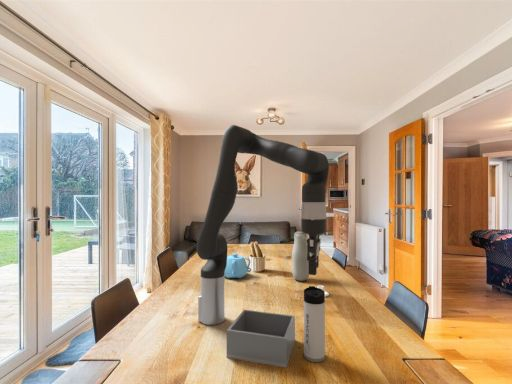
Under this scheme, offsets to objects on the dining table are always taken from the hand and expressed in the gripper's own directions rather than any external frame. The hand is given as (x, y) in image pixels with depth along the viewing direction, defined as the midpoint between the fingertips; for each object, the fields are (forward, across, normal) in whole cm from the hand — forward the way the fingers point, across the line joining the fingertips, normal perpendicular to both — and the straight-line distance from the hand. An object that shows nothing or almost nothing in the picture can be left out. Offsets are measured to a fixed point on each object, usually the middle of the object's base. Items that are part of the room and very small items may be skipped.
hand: (313, 270), depth 85 cm
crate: (+26, 0, -16) cm, 30 cm away
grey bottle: (+26, -76, -14) cm, 81 cm away
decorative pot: (+26, -73, -53) cm, 94 cm away
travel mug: (+26, 0, 0) cm, 26 cm away
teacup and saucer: (+26, -54, -3) cm, 60 cm away
